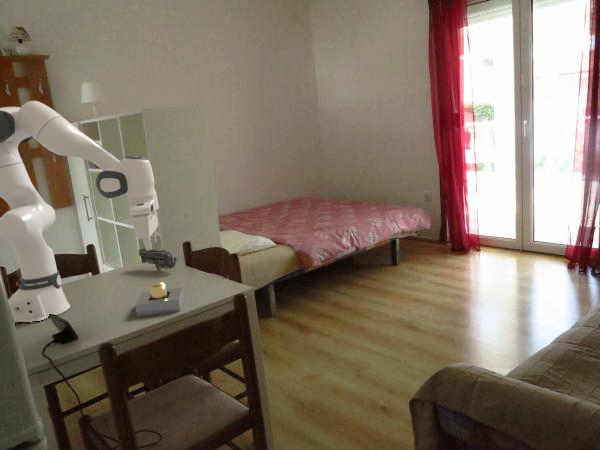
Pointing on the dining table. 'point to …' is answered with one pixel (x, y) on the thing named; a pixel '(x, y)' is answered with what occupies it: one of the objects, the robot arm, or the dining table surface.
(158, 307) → the housing
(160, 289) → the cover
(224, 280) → the dining table surface
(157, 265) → the toy gun
